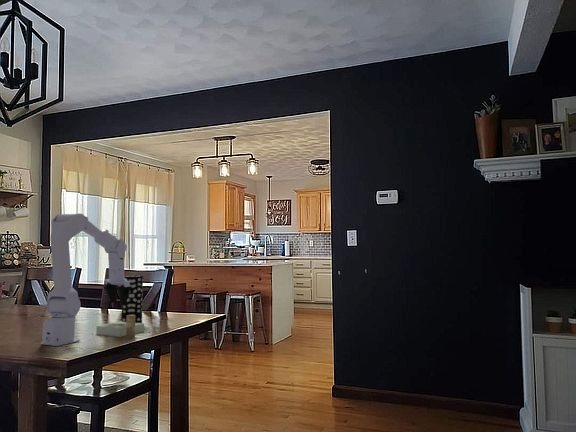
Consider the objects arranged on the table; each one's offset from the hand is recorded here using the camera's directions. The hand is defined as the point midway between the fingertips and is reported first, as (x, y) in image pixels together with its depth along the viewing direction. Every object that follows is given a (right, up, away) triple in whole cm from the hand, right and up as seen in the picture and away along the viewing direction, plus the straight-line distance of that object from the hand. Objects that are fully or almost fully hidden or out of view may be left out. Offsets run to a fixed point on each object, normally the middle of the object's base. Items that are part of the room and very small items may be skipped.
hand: (118, 303), depth 185 cm
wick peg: (+11, -9, -19) cm, 24 cm away
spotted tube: (+1, -11, +13) cm, 17 cm away
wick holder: (+4, -10, -9) cm, 14 cm away
